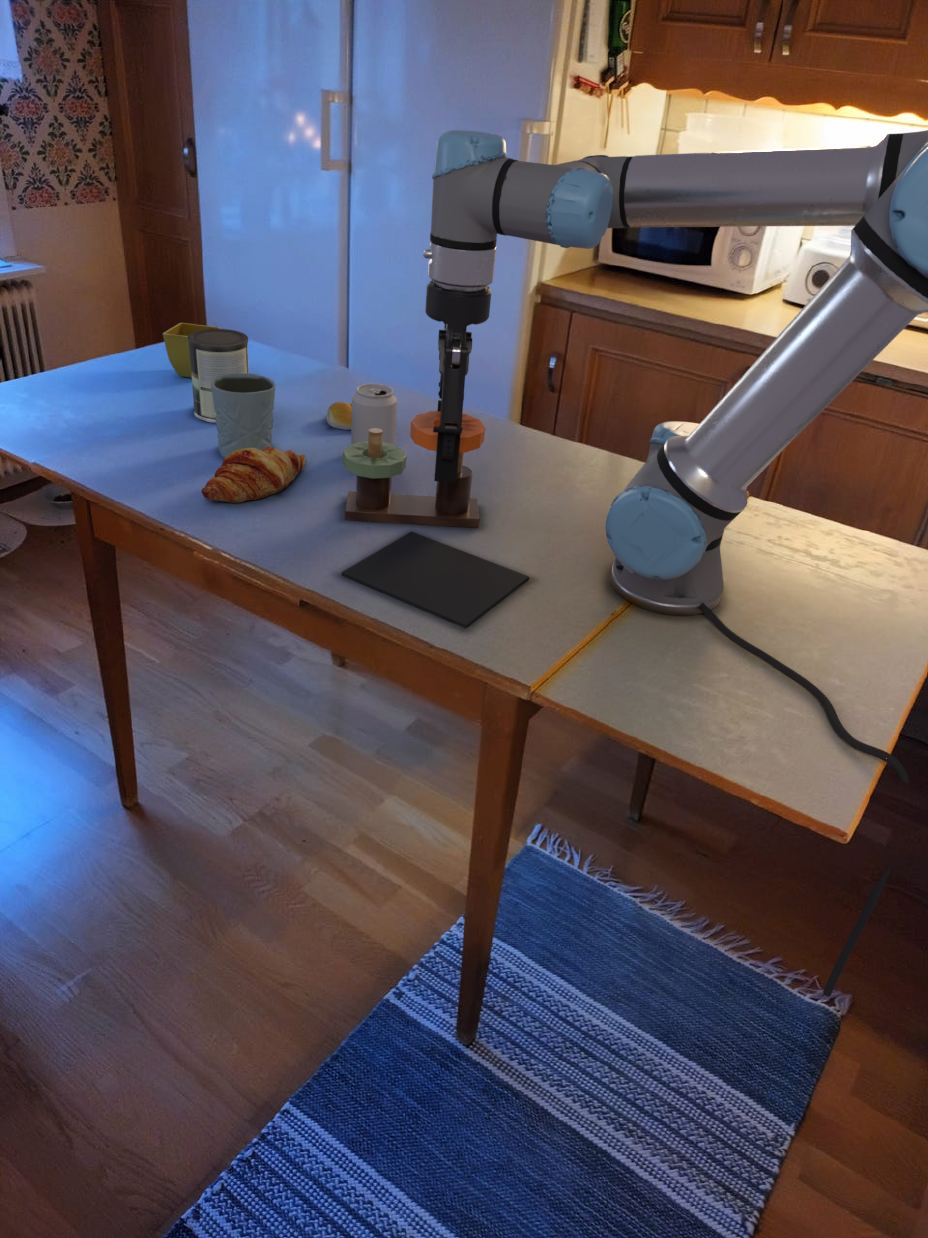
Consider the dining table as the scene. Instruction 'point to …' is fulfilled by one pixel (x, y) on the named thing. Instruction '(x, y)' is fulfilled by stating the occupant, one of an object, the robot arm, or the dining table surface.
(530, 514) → the dining table surface
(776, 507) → the dining table surface
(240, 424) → the grey embossed cup
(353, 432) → the can
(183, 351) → the flower pot
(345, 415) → the bread roll
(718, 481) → the robot arm
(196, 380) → the coffee can
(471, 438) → the orange disc
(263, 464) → the croissant
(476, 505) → the peg rack
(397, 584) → the mat
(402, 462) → the green disc
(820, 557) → the dining table surface
